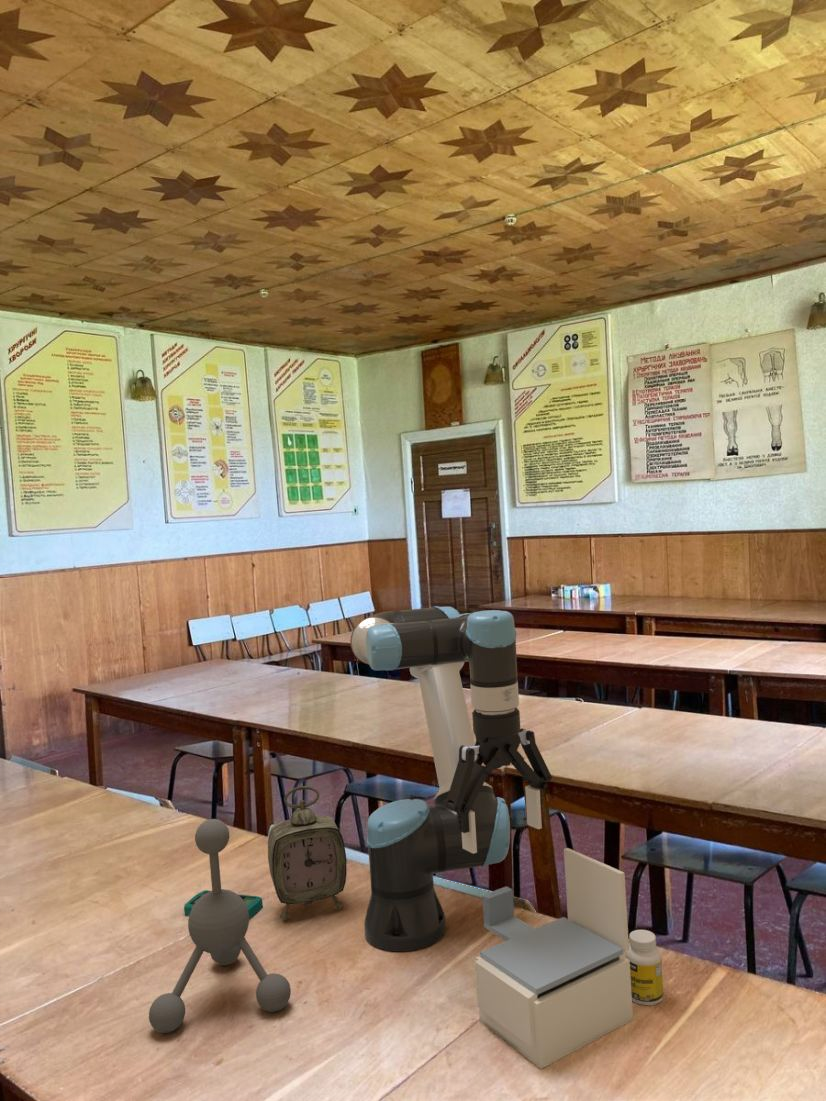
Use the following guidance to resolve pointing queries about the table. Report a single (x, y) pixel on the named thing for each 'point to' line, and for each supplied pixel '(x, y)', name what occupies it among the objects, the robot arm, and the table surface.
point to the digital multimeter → (251, 901)
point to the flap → (540, 946)
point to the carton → (579, 1003)
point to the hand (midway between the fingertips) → (503, 838)
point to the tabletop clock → (306, 857)
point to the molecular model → (217, 938)
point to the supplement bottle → (645, 968)
